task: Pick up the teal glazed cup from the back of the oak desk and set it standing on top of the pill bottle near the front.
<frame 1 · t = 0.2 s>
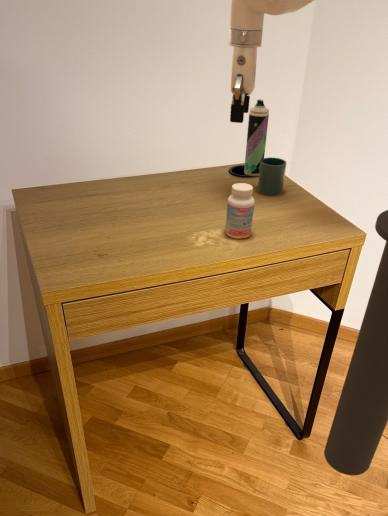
hand: (239, 117, 125), 19 cm above the table, tool pointing down, fingers open, 9 cm apart
pill bottle: (238, 234, 116), on the table
spray can: (253, 173, 147), on the table
cup: (269, 190, 137), on the table
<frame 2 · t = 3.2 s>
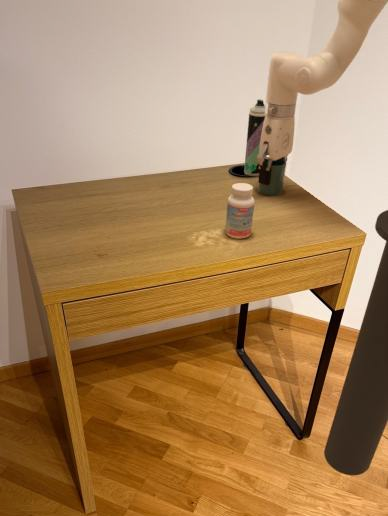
hand: (271, 179, 135), 3 cm above the table, tool pointing down, fingers closed on cup, 7 cm apart
cup: (269, 190, 137), on the table, touching gripper
everything else where it was.
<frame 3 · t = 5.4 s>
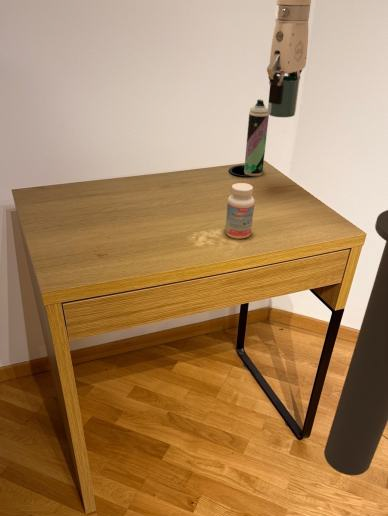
hand: (282, 100, 122), 23 cm above the table, tool pointing down, fingers closed on cup, 7 cm apart
cup: (281, 114, 124), point 20 cm above the table, touching gripper
everything else where it was.
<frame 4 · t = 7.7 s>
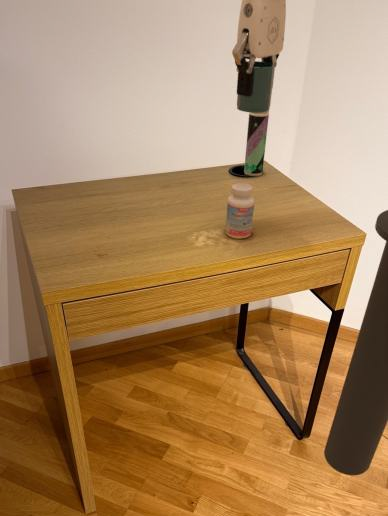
hand: (254, 91, 99), 30 cm above the table, tool pointing down, fingers closed on cup, 7 cm apart
cup: (252, 108, 101), point 27 cm above the table, touching gripper
everything else where it was.
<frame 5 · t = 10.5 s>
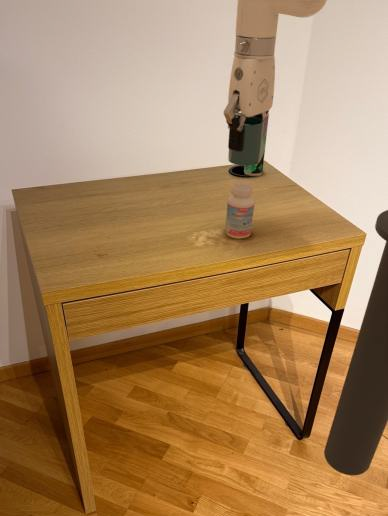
hand: (245, 145, 103), 20 cm above the table, tool pointing down, fingers closed on cup, 7 cm apart
cup: (244, 160, 105), point 17 cm above the table, touching gripper
everything else where it was.
when the fingers open (14 cm above the table, at t = 12.7 s): cup stays where it is, resting on pill bottle.
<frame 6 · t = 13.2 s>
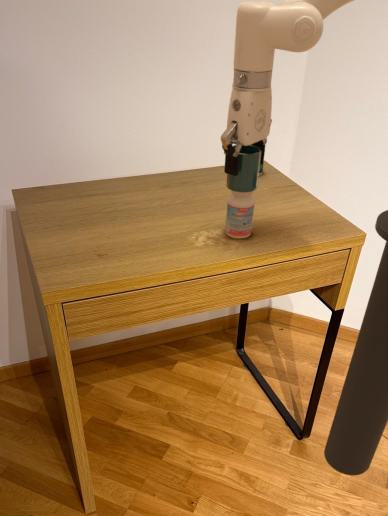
hand: (244, 168, 106), 15 cm above the table, tool pointing down, fingers open, 9 cm apart
pill bottle: (238, 234, 116), on the table, touching cup
cup: (241, 186, 108), point 11 cm above the table, touching pill bottle
everything else where it was.
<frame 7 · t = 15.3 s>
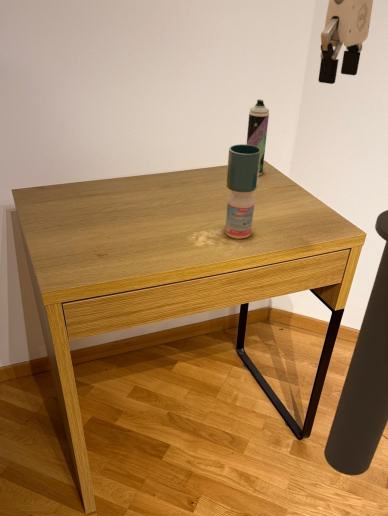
hand: (337, 78, 96), 33 cm above the table, tool pointing down, fingers open, 9 cm apart
nothing on the table moved.
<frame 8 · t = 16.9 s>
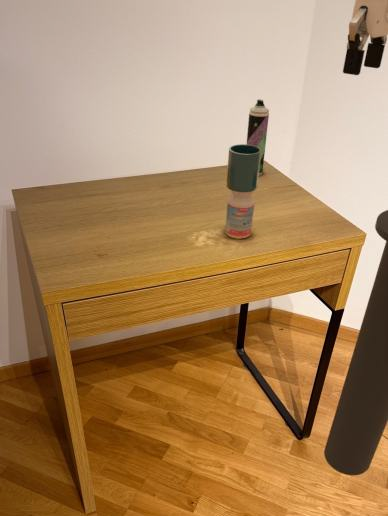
hand: (361, 70, 95), 34 cm above the table, tool pointing down, fingers open, 9 cm apart
nothing on the table moved.
at the end: cup 0.1 cm off-centre on the pill bottle, point 11.4 cm above the pill bottle's base; cup tilted 0°; pill bottle tilted 0° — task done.
